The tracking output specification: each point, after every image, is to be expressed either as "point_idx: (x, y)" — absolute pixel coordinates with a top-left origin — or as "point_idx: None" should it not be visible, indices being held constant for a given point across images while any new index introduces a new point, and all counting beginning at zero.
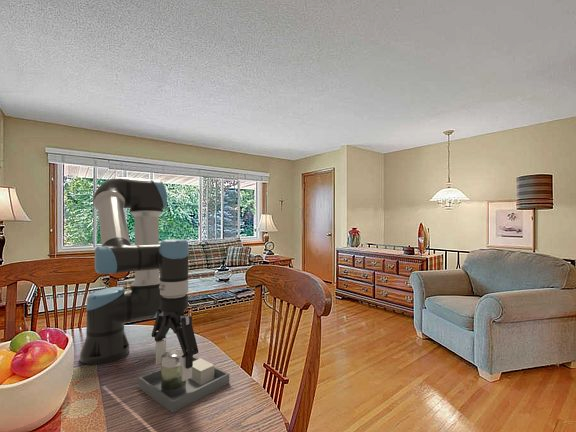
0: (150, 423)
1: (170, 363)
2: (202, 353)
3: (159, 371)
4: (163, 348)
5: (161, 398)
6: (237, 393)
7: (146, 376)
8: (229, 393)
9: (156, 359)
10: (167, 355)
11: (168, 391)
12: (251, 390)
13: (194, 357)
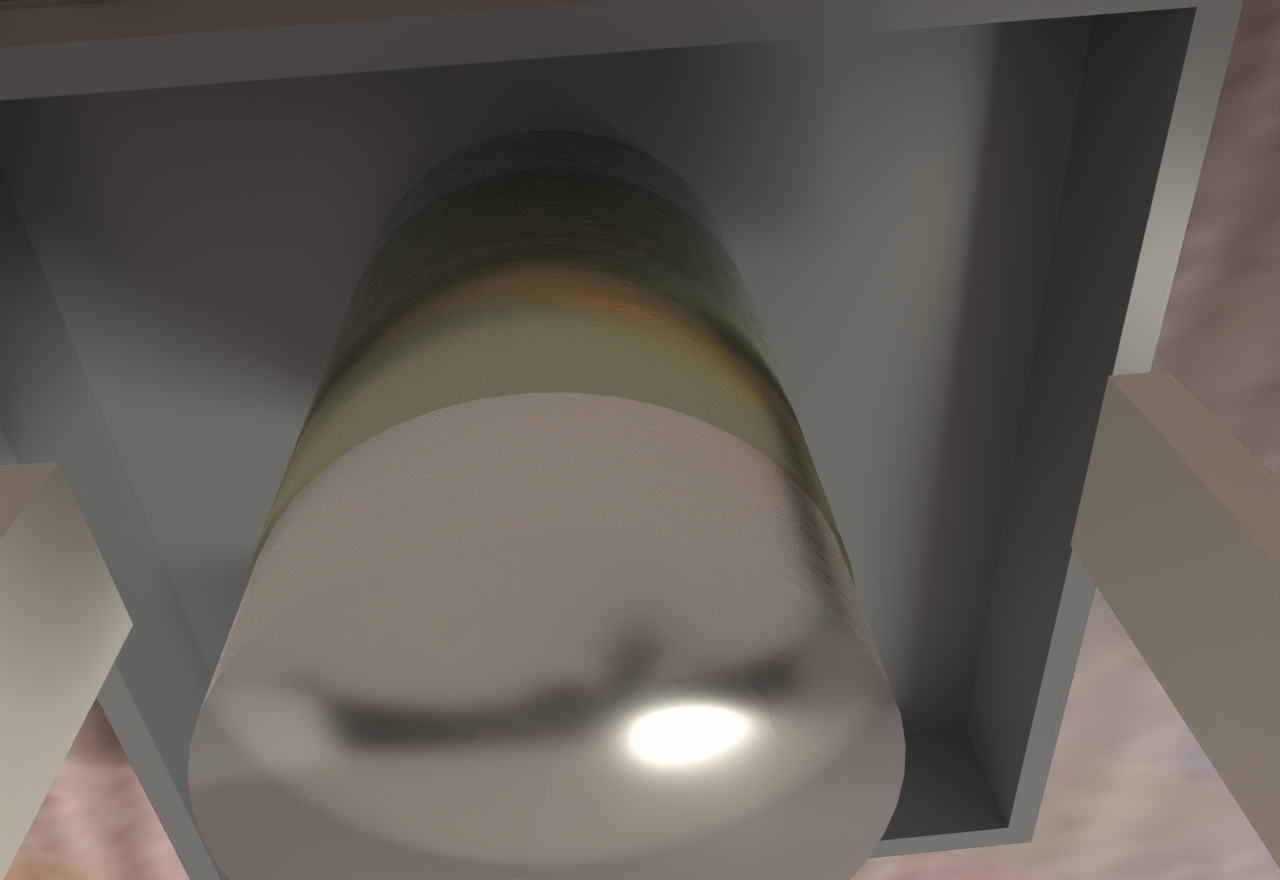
0: None
1: (271, 571)
2: (1164, 875)
3: (1105, 362)
4: (1258, 752)
5: (234, 12)
6: (61, 777)
7: (1164, 112)
8: (112, 731)
9: (1199, 440)
10: (652, 691)
11: (408, 213)
12: (37, 873)
13: (988, 835)
